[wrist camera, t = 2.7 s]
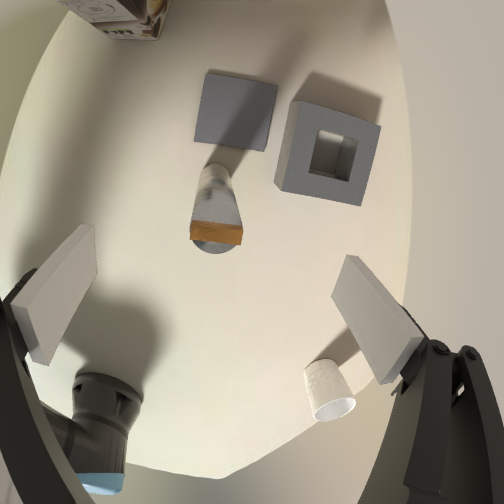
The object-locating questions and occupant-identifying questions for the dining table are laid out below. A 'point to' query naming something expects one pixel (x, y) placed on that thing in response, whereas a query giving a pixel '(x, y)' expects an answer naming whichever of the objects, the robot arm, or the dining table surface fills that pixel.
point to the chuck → (350, 160)
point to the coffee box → (123, 16)
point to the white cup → (327, 391)
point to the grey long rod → (215, 212)
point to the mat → (235, 112)
